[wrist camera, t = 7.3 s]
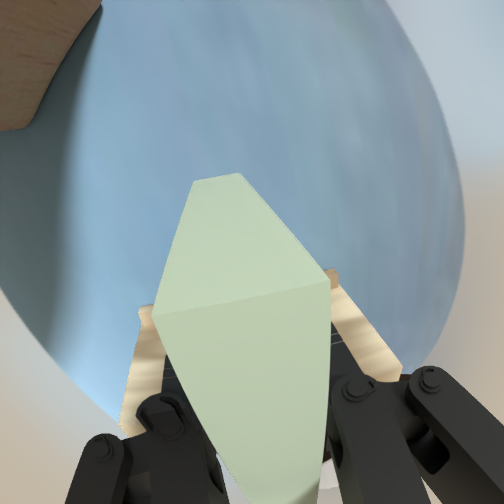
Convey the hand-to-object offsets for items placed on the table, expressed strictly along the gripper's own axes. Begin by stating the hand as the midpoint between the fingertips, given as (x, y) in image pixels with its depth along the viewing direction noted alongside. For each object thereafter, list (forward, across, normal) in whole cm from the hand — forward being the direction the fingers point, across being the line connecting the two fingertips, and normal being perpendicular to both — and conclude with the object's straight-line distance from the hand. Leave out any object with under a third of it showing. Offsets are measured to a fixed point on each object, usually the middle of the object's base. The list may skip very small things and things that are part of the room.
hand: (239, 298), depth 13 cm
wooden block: (+6, -12, +18) cm, 22 cm away
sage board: (0, 0, -2) cm, 2 cm away
